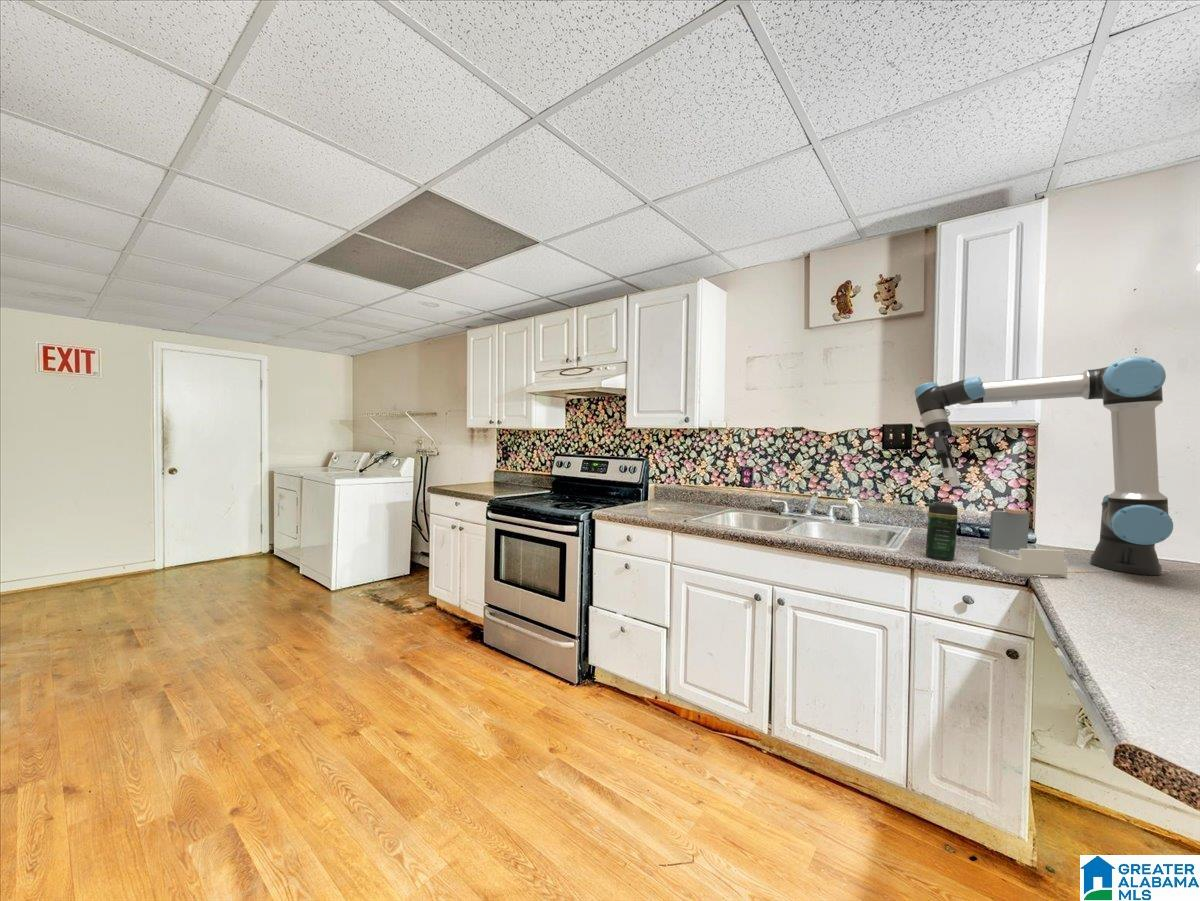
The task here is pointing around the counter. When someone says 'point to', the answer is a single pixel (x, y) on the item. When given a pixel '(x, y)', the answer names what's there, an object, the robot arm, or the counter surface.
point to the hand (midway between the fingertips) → (952, 482)
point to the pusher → (1009, 529)
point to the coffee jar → (941, 530)
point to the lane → (1027, 562)
